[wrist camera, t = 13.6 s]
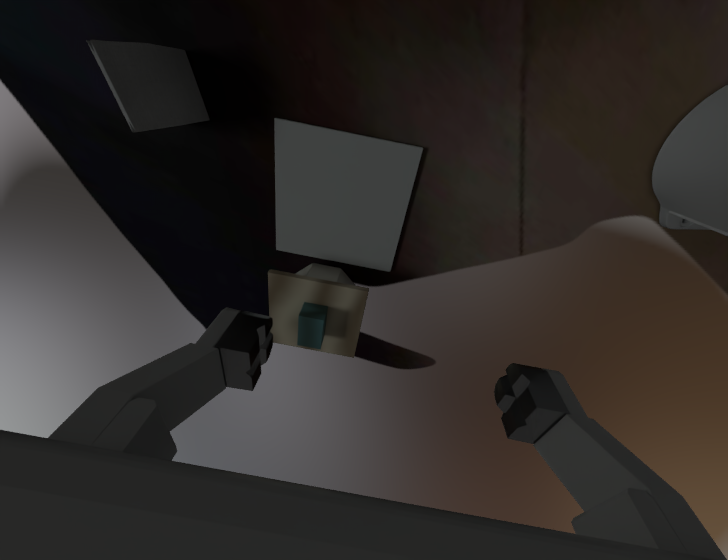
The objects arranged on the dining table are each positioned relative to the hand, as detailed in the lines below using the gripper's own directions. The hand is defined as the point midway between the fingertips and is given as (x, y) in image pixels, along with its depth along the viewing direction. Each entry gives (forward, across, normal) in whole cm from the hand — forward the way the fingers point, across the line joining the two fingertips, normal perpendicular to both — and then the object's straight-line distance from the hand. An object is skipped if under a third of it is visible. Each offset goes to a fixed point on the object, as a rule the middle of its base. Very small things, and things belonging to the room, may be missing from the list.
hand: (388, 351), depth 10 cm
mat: (+31, +6, +7) cm, 32 cm away
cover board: (+25, +7, +23) cm, 35 cm away
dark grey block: (+31, +26, -3) cm, 41 cm away
